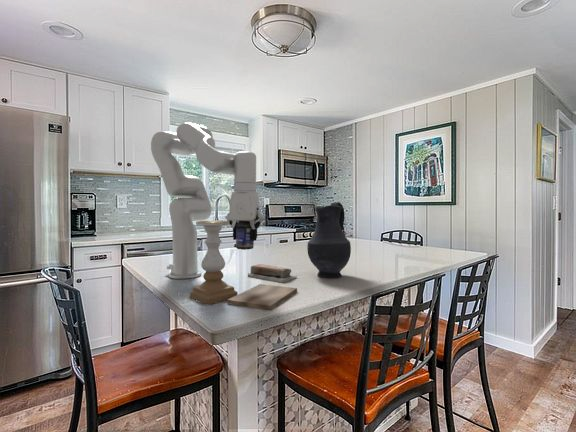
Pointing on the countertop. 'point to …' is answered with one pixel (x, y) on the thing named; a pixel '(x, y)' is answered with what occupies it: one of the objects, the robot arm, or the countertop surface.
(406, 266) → the countertop surface
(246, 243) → the pill bottle
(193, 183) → the robot arm
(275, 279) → the butter dish
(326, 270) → the pitcher
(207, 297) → the candle holder
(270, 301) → the walnut board
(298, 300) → the countertop surface
